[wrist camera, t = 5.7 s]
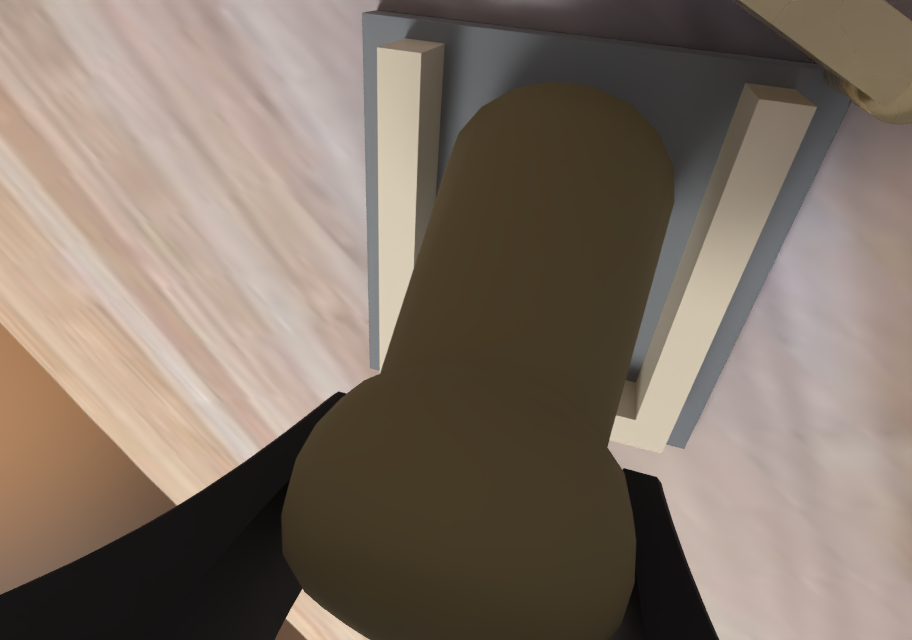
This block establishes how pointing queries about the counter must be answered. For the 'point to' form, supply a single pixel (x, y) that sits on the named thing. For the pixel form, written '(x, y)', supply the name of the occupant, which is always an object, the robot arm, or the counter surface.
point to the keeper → (850, 48)
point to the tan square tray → (687, 143)
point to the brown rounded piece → (497, 392)
